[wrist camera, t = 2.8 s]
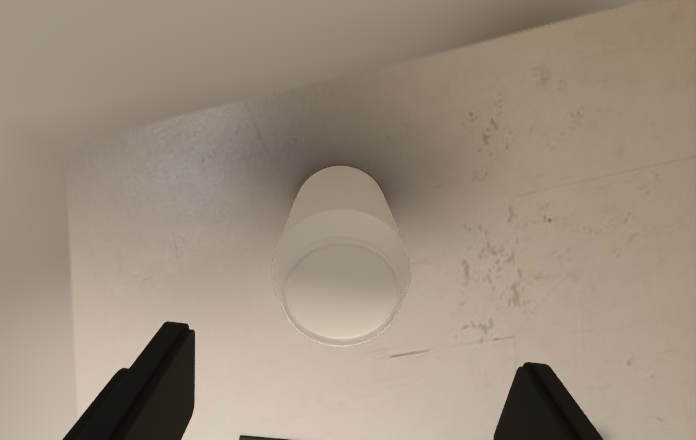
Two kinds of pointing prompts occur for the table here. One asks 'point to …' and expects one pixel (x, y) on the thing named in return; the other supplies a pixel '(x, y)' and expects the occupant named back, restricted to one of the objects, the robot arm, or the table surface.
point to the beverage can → (340, 260)
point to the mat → (255, 438)
